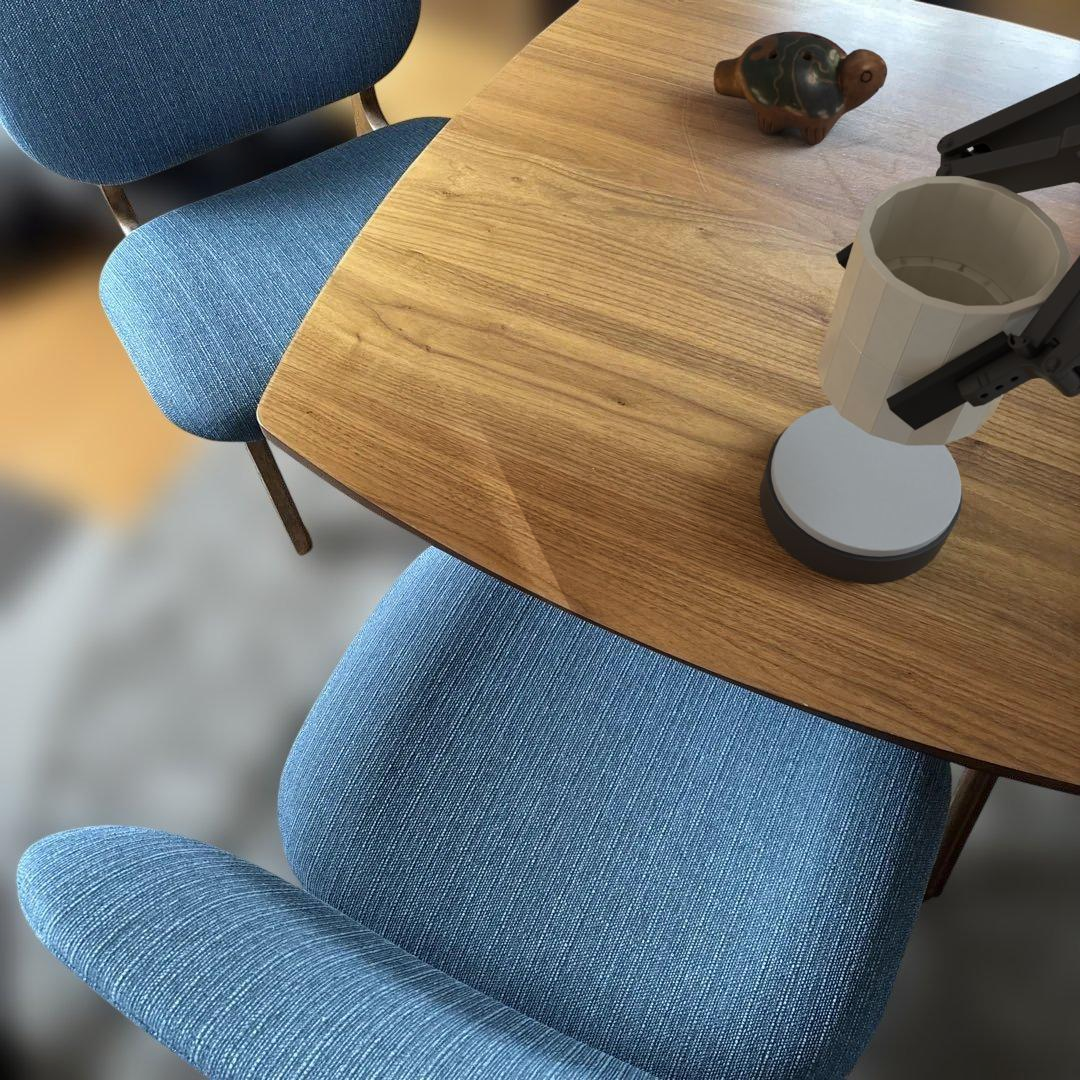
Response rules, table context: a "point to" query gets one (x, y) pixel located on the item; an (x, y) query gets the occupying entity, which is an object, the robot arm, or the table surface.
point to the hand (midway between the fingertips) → (873, 338)
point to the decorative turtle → (800, 81)
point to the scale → (858, 499)
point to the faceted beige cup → (933, 296)
